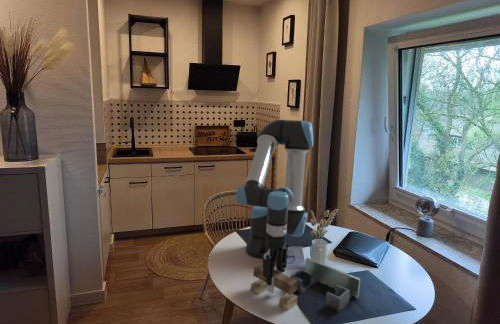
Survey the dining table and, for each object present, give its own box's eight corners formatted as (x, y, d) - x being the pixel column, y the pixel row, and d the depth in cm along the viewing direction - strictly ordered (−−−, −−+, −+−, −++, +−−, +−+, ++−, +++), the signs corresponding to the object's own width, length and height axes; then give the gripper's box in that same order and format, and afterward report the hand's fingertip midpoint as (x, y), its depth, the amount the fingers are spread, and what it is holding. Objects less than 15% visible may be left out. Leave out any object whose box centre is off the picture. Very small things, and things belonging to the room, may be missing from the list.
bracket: (287, 287, 142) (288, 269, 140) (306, 274, 152) (307, 257, 150) (341, 313, 126) (343, 293, 124) (358, 297, 136) (360, 278, 135)
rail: (253, 275, 139) (253, 266, 138) (259, 271, 142) (260, 262, 141) (290, 294, 127) (290, 285, 126) (296, 290, 130) (297, 280, 129)
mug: (309, 262, 162) (311, 238, 160) (324, 263, 162) (326, 239, 159) (310, 273, 153) (312, 248, 150) (326, 275, 152) (328, 249, 149)
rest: (250, 290, 139) (251, 283, 138) (260, 284, 143) (260, 277, 142) (287, 310, 127) (288, 303, 126) (297, 303, 131) (297, 296, 131)
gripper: (269, 244, 121) (267, 303, 127) (298, 229, 133) (294, 283, 139) (253, 237, 126) (252, 294, 131) (282, 223, 138) (279, 276, 144)
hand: (274, 288), depth 135 cm, fingers closed on rail, 4 cm apart
